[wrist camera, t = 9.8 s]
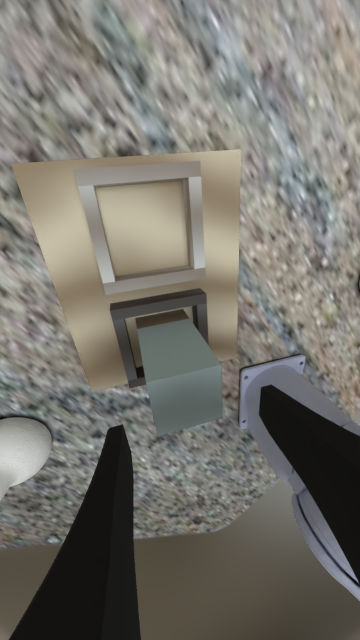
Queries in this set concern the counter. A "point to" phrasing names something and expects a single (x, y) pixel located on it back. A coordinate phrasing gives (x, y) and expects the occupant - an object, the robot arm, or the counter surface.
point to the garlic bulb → (21, 450)
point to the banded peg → (179, 372)
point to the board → (138, 249)
